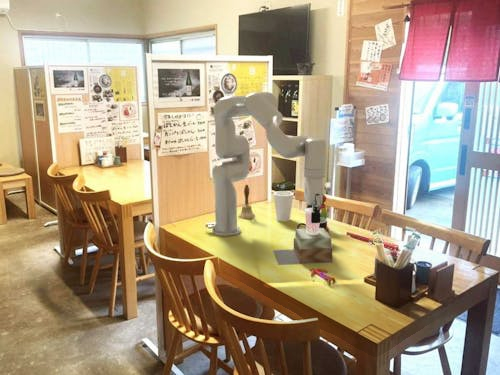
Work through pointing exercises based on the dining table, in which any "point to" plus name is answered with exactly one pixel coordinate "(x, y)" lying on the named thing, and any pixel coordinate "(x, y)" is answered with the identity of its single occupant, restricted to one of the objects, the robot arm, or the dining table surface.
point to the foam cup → (283, 205)
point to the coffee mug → (322, 224)
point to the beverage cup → (311, 227)
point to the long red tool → (372, 240)
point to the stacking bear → (324, 211)
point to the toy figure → (322, 275)
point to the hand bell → (246, 206)
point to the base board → (289, 257)
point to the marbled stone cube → (312, 246)
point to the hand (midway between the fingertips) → (313, 219)
